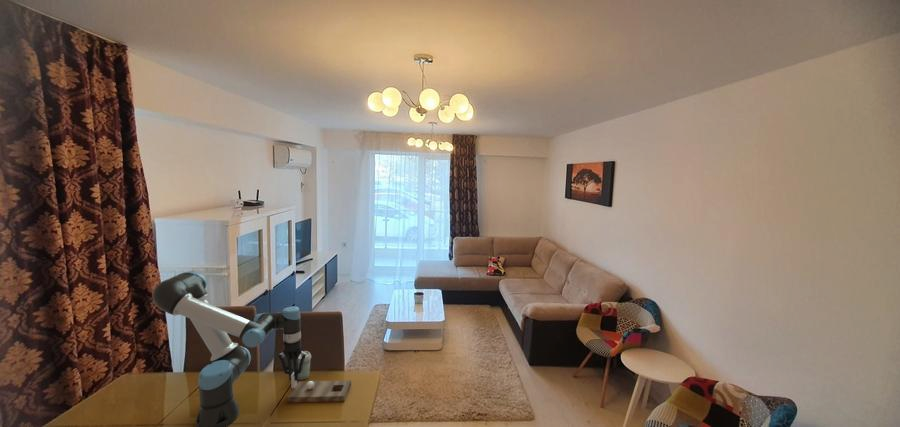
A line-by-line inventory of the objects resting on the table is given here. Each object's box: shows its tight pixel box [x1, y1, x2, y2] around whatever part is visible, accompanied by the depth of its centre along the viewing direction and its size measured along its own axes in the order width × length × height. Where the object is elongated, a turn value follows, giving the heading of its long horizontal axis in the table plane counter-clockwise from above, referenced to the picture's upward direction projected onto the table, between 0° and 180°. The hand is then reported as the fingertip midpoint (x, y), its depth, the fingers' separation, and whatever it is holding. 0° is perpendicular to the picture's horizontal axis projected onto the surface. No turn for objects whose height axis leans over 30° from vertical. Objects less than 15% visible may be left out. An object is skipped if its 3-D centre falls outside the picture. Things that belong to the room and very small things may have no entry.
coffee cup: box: [298, 350, 312, 381], centre depth 171 cm, size 8×9×12 cm
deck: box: [287, 380, 352, 403], centre depth 158 cm, size 26×12×2 cm, turn 93°
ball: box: [306, 380, 314, 389], centre depth 157 cm, size 4×4×4 cm
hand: (294, 386), depth 157 cm, fingers closed
